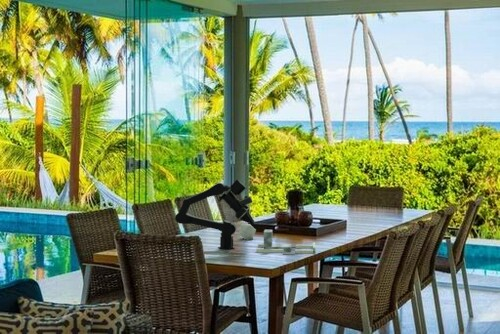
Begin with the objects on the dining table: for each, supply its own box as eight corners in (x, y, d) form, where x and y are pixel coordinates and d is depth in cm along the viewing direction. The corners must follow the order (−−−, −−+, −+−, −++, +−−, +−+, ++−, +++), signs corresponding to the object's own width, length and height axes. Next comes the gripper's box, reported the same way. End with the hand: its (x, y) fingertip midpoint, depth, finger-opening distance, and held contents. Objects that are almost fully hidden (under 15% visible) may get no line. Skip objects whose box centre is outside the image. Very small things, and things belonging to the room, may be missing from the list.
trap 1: (282, 254, 439) (282, 254, 439) (283, 252, 445) (283, 252, 445) (294, 254, 438) (294, 254, 438) (295, 253, 444) (295, 252, 444)
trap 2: (284, 247, 463) (284, 246, 463) (284, 245, 469) (284, 244, 469) (295, 247, 463) (295, 246, 463) (296, 245, 469) (296, 245, 469)
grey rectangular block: (263, 251, 450) (263, 232, 449) (264, 248, 460) (264, 229, 459) (290, 252, 449) (291, 232, 448) (291, 249, 459) (291, 230, 458)
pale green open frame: (255, 252, 446) (256, 246, 446) (258, 246, 464) (258, 241, 464) (315, 253, 444) (315, 247, 444) (315, 248, 462) (315, 242, 462)
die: (250, 238, 499) (240, 224, 499) (261, 232, 494) (250, 217, 493) (244, 245, 492) (233, 231, 492) (254, 239, 487) (244, 224, 486)
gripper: (242, 192, 445) (263, 214, 445) (244, 189, 463) (265, 210, 463) (226, 207, 446) (248, 229, 446) (229, 203, 464) (250, 225, 464)
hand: (253, 223), depth 455 cm, fingers open, 6 cm apart
